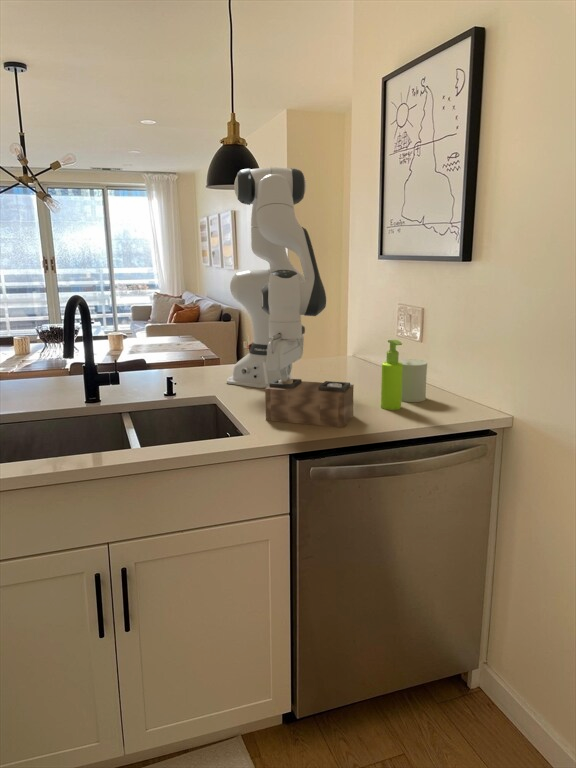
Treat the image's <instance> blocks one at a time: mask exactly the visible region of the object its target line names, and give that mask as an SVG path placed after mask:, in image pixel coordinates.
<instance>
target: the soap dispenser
mask: <svg viewBox="0 0 576 768" xmlns="http://www.w3.org/2000/svg"><path fill="white" fill-rule="evenodd" d="M387 342H388V343H389V350H387V351H386V361H384V362H382V363H381V385H380V386H381V388H380V389H381V392H380V393H381V396H380V408H381V409H384V410H389V411H395V410H400V409H402V401H401V395H402V368H403V364H402V363H399V362H398V361H399V355H400V354H399V351H398V350H397V346H402V345H403V343H402V342H401V341H400V340H396V339H388V340H387Z"/></svg>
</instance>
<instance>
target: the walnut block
mask: <svg viewBox="0 0 576 768" xmlns="http://www.w3.org/2000/svg"><path fill="white" fill-rule="evenodd" d="M290 379H291V380H293V383H292V384H284V383H279V380H281V378H277V379H276V380H274V381H272V382H271V383H269V386H268V387H264V388H265V389H264V391H265V392H264V394H265V399H264V401H265V402H264V403H265V421H269V422H270V421H272V422H283V423H292V424H293V423H294V424H303V425H313V426H322V427H323V426H325V427H334V426H335V427H336V428H345V427H346V425H347V424H348V423H349V421H351V419H352V418H353V417H354V384H351V382H346V381H345V382H344V381H329V380H325V381H324V382H319V381H304V380H302V379H301V378H300V379H299V378H290ZM330 383H339V384H342V387H327V384H330Z"/></svg>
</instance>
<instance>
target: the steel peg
mask: <svg viewBox="0 0 576 768" xmlns="http://www.w3.org/2000/svg"><path fill="white" fill-rule="evenodd" d="M327 387H342V384H339V383H330V384H327Z"/></svg>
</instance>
